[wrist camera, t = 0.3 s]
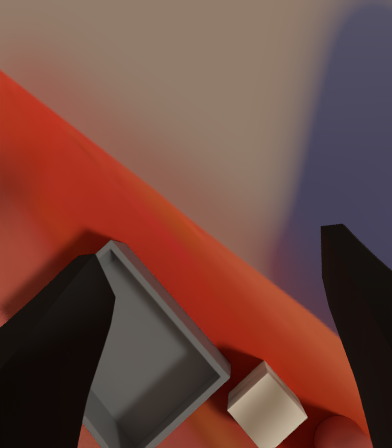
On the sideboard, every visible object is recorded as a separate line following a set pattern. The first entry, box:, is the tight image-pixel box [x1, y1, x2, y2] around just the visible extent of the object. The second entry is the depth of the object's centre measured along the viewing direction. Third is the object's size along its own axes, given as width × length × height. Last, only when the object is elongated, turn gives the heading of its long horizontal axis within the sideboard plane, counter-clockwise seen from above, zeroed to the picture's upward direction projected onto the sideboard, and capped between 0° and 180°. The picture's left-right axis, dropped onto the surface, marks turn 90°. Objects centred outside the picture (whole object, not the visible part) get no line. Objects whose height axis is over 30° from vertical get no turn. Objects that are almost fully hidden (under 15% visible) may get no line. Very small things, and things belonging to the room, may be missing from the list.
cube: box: [227, 361, 308, 448], centre depth 36 cm, size 5×5×5 cm
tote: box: [82, 240, 231, 448], centre depth 38 cm, size 17×13×5 cm
